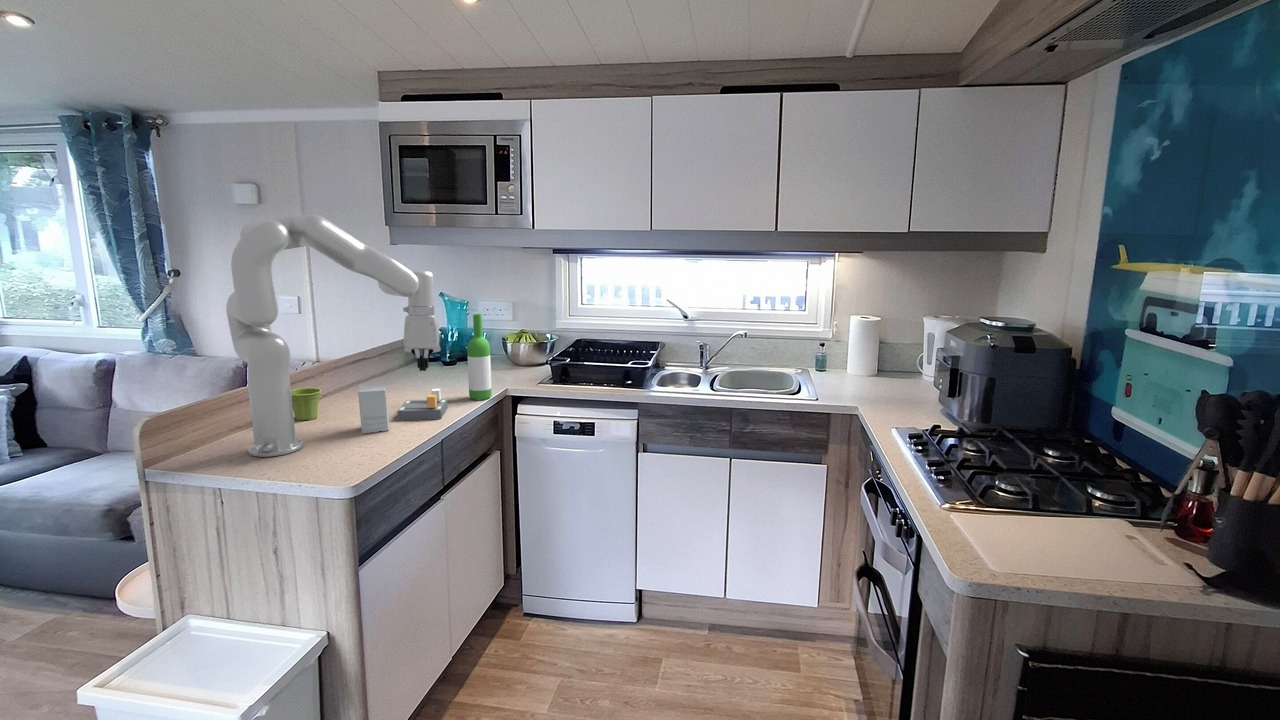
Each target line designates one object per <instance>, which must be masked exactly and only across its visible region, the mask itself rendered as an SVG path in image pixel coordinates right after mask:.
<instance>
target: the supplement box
mask: <svg viewBox="0 0 1280 720" xmlns="http://www.w3.org/2000/svg"><path fill="white" fill-rule="evenodd" d="M357 395H358V397H357V398H358V407H359V415H360V416H359V417H360V425H361V434H370V433H371V432H372V433H379V431H382V432H388V431H389V416H388V415H389V414H388V401H387V399H388V398H387V390H386V384H378V385H377V384H376V385H364V386H362V385H361V386H359V388H358V391H357ZM387 430H388V431H387Z"/></svg>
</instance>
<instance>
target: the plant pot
mask: <svg viewBox="0 0 1280 720" xmlns="http://www.w3.org/2000/svg"><path fill="white" fill-rule="evenodd" d="M321 393H322V388H321V389H320V388H316V387H304V388H295V389H291V395H292V406H293V416H294V418H295V419H294V420H297V421H300V420H303V421H305V420H307V421H311V419H312V420H315V419H317V418H318V415H319V402H320V396H321Z"/></svg>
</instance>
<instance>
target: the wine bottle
mask: <svg viewBox="0 0 1280 720" xmlns="http://www.w3.org/2000/svg"><path fill="white" fill-rule="evenodd" d="M482 316H483V315H482V313H473V314H472V319H473V320H472V322H473V323H472V324H473V337H472V338H471V339H470V340H469V341H468V344H467V346H466V347H467V374H468V375H467V377H468V395H469V398H470V399H471V400H474V401H483V400H488V399H490V398H491V397H492V367H491V365H492V364H491V346H490V342H489V341H488V340H487V338H485V337H484V335H483V334H484V333H483V317H482Z"/></svg>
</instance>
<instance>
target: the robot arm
mask: <svg viewBox="0 0 1280 720" xmlns="http://www.w3.org/2000/svg"><path fill="white" fill-rule="evenodd" d="M240 230H241V231H240V234H239V237H240V239H239V240H238V241H237V243H236V245H235V247H234V250H233V252H232V254H231V260H230V261H231V262H230V268H231V270H230V271H231V276H232V283H233V290H234V292H232V293H231V294H230V295H229V297H228V299H227V300H226V308H225V309H226V315H227V316H226V317H227V322H228V328H229V331H230V335H231V341H232V345H233V348H234V351H235V354H236V355H237V356H238V357H239V358H240V359H241V360H242V361H244V362H245V363H247V391H248V399H249V408H250V416H251V424H252V433H253V442H254V444H251V446H249V447H248V450H247V453H248V455H250V456H252V457H257V456H258V457H259V458H262V457H263V458H264V457H265V458H266V457H267V458H269V457H278V456H284V455H287V454H291V453H294V452H296V451H298V450H300V449H302V448H303V446H304V443H303V442H304V441H303V440H301V439H299V438H296V436H297V435H296V427H295V419H294V418H295V415H294V411H293V406H292V395H291V390H292V389H291V378H290V374H291V373H290V365H291V352H290V351H291V350H290V347H289V345H288V342H286V340H285V339H284V338H283V337H282V336H280V335H278V334H276V333H275V332H272V324H273V323H274V322H275V321H276V319H277V318H278V316H279V315H278V314H279V313H278V312H279V308H278V302H277V298H276V292H275V287H274V282H273V274H272V273H273V272H272V266H273V261H274V259H275V257H276V256H277V255H278V254H279V253H281V252H283V251H285V250H292V249H299V248H303V247H310V248H312V249H313V250H315V251H316V252H319V254H322V255H323V256H325V257H327V258H329V259H330V260H332V261H333V262H335V263H336V264H338V265H339V266H341V267H343V268H345V269H346V270H348V271H350V272H353V273H356V274H359V275H364V276H366V277H368V278H371V279H373V280H375V281H377V285H378V287H379V289H380V290H381V291H382V292H383V293H384V294H386V295H389V296H397V297H404V298H407V304H408V305H407V306H404V307H403V312H404V313H405V312H406V313H407V315H406V316H405V318H404V326H403V346H404V348H403V350H404V352H407V353H411V354H412V355H413V356H415V358H416V359H417V368H418V370H419V372H422V371H423V372H426V371H427V369H428V368H429V357H430V356H431V355H432V354H433V353H438V352H441V350H442V347H441V346H440V344H441V338H440V337H441V336H440V326H439V320H438V316H437V315H435V285H434V283H435V282H434V281H435V279H434V274H433V272H431V271H430V270H429V271H428V270H410V269H408V268H407V267H405V266H404V265H403V264H401V263H400V262H398V261H396V260H395V259H393V258H391V257H389V256H387V255H386V254H384V253H383V252H380V251H378V250H376V249H374V248H373V247H372V246H369V245H367V244H365V243H364V242H362V241H361V240H359V239H358V238H355V237H354V236H352V235H351V234H349V232H347V231H345V230H344V229H342V228H341V227H339V226H337V225H336V224H334V223H333V222H332V221H330V220H329V219H327V218H325V217H323V216H320V215H318V214H299V215H294V216H285V217H278V218H267V219H256V220H255V219H254V220H251V221H249V222H247V223H245V224H244V225H243V226H242V228H241V229H240ZM422 350H424V351H423V353H424V354H423V355H422Z"/></svg>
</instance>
